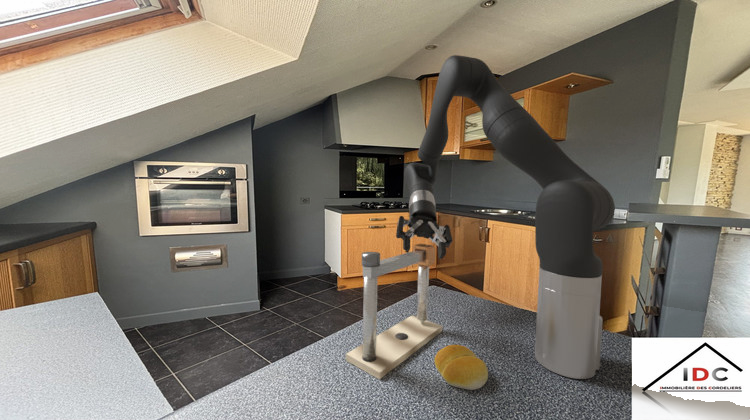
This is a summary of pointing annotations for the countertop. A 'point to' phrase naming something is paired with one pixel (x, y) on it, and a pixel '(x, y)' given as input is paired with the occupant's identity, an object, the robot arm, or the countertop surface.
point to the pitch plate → (395, 346)
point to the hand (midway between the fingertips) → (424, 253)
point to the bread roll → (461, 367)
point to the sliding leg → (424, 280)
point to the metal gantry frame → (370, 273)
